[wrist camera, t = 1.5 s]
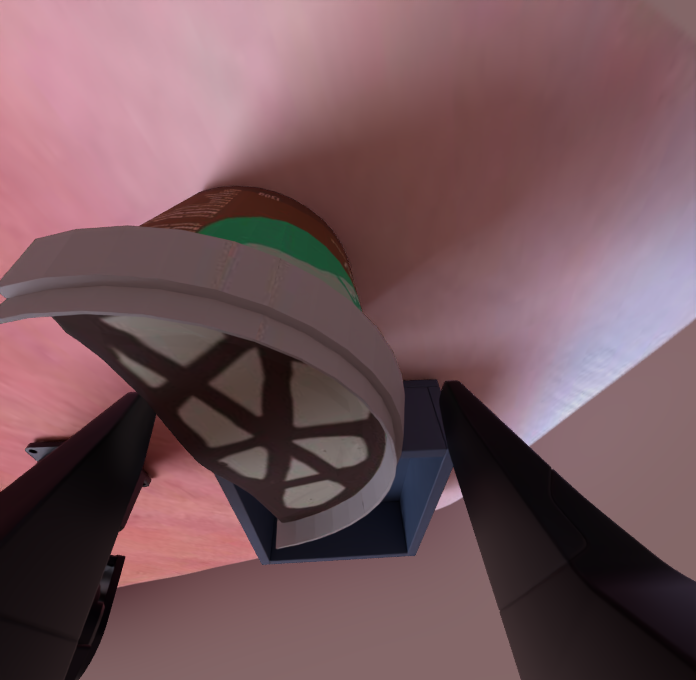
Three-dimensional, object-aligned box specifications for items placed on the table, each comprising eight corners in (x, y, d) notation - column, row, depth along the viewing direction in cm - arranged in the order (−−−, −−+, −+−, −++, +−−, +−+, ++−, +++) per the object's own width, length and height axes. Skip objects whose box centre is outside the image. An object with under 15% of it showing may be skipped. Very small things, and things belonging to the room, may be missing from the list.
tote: (269, 504, 32) (261, 564, 28) (228, 386, 21) (206, 459, 17) (404, 497, 33) (415, 555, 29) (437, 379, 22) (461, 448, 18)
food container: (395, 344, 19) (441, 527, 12) (298, 368, 20) (282, 553, 13) (331, 96, 11) (343, 161, 4) (177, 152, 12) (-60, 296, 5)
